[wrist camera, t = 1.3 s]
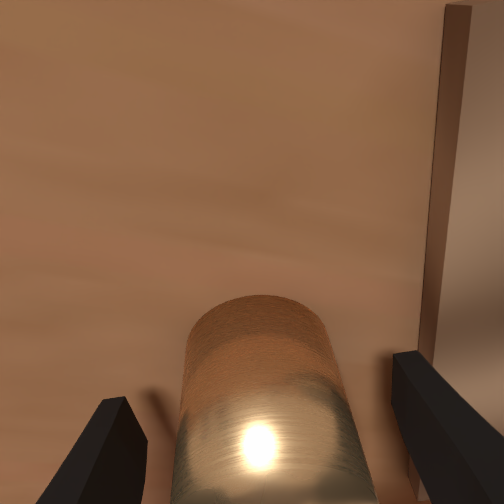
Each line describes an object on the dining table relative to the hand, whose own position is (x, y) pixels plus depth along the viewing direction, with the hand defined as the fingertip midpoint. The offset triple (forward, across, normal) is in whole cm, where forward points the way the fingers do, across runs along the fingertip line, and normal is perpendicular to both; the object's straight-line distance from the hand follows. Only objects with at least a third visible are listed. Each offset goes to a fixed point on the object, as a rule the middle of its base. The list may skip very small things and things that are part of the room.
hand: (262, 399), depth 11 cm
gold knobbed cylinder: (+2, 0, 0) cm, 2 cm away
